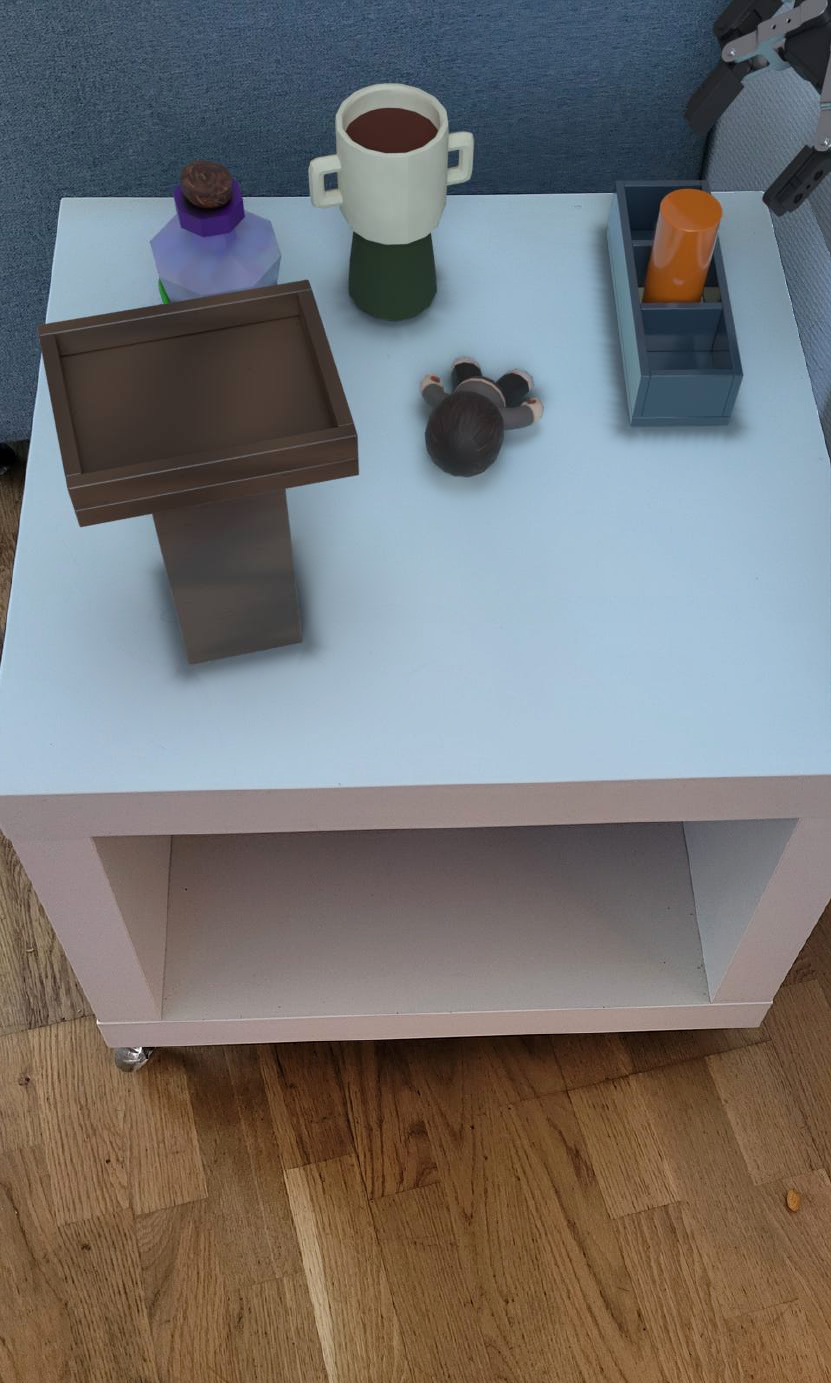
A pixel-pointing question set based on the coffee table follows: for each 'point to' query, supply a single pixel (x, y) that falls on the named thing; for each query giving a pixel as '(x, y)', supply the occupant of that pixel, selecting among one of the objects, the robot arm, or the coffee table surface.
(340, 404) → the walnut tray stand
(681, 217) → the orange glossy cylinder
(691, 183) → the three-compartment dish
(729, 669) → the coffee table surface
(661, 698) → the coffee table surface
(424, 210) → the character mug
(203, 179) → the potion bottle
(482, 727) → the coffee table surface
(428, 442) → the figurine
